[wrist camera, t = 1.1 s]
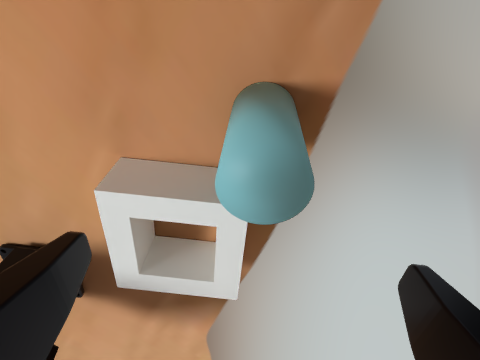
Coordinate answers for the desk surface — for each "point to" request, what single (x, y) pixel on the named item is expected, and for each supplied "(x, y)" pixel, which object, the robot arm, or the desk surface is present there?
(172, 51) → the desk surface
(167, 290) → the socket
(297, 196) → the peg
